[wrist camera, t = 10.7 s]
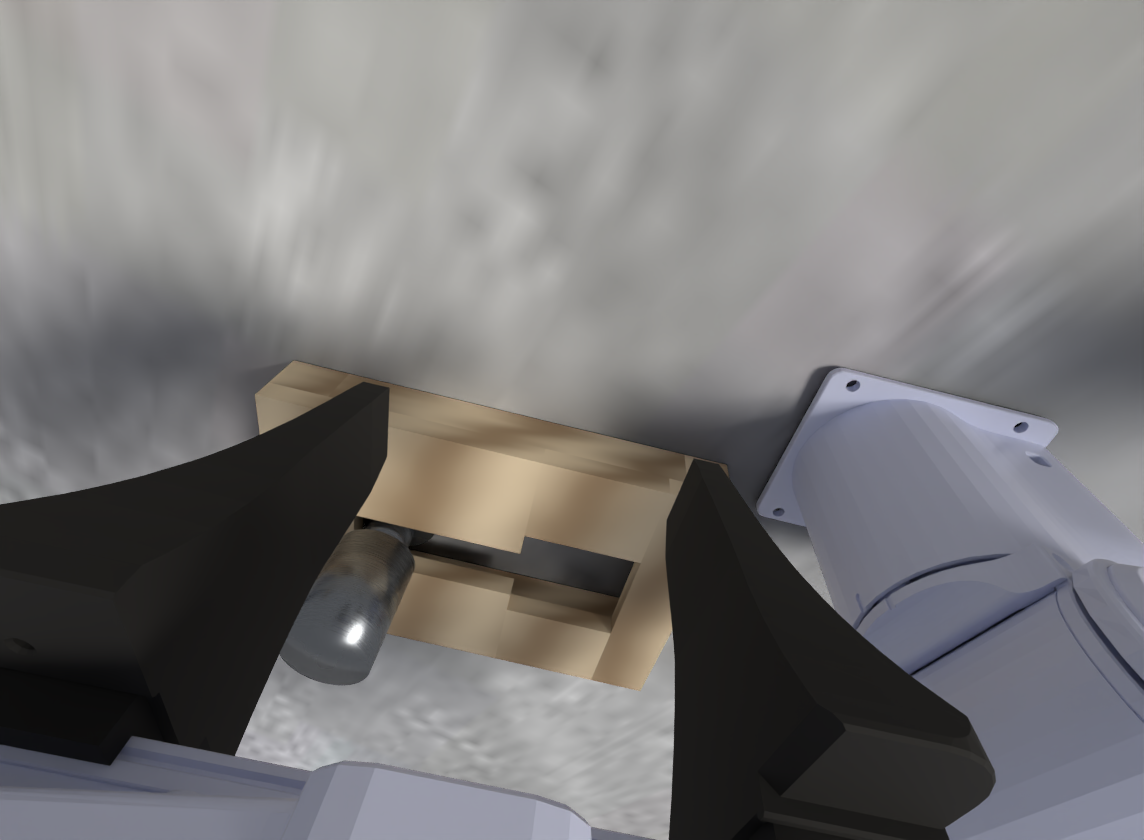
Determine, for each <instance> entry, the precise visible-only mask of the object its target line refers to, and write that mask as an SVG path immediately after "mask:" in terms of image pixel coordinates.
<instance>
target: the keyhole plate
mask: <svg viewBox="0 0 1144 840" xmlns="http://www.w3.org/2000/svg"><path fill="white" fill-rule="evenodd" d="M362 382H367V383H372V384H376V385H380V386H385V387H389V388H390V393H389V421H388V450H387V458H386V461H385V463H384V465H383V467H382V470H381V472H380V474H379V476H378V479H377V481H376V483H375V485H374V487H373V489H372V491H371V493H370V495H369V496H368V498H367V500H366V501H365V503H364V504H363V506H362V508H361V509H360V511H359V512H358V514H357V515H356V517H355V519H354V520H353V522H352V523H351V525H350V526H349V528H348V530H347V531H346V533H345V534H347V533H348V532H351V531H354V530H358V529H363V517H364V518H368V519H373V520H377V521H381V522H386V523H390V524H394V525H398V526H403V527H407V528H411V529H416V530H420V531H424V532H428V533H433V534H437V535H441V536H446V537H450V538H454V539H458V540H463V541H467V542H471V543H476V544H480V545H484V546H488V547H493V548H497V549H501V550H506V551H510V552H514V553H518V554H520V553H521V549H522V545H523V540H524V536H527V537H531V538H535V539H539V540H544V541H548V542H552V543H556V544H561V545H565V546H569V547H574V548H578V549H582V550H586V551H591V552H595V553H599V554H603V555H608V556H612V557H616V558H620V559H625V560H629V561H633V562H634V564H633V567H632V569H631V572H630V574H629V576H628V579H627V581H626V584H625V586H624V588H623V591H622V593H621V596H620V598H617V597H613V596H609V595H605V594H600V593H596V592H592V591H587V590H583V589H579V588H574V587H570V586H566V585H561V584H557V583H553V582H548V581H544V580H540V579H536V578H531V577H527V576H523V575H518V574H514V573H510V572H505V571H501V570H497V569H492V568H488V567H484V566H479V565H475V564H471V563H467V562H462V561H458V560H454V559H449V558H445V557H441V556H436V555H432V554H428V553H423V552H419V551H415V550H410V549H409V550H410V552H411V553H412V555H413V557H414V560H415V569H414V572H413V574H412V577H411V579H410V581H409V584H408V586H407V588H406V590H405V593H404V595H403V597H402V599H401V602H400V604H399V606H398V609H397V611H396V613H395V615H394V618H393V620H392V622H391V624H390V627H389V629H388V631H387V633H386V634H391V635H395V636H400V637H404V638H409V639H413V640H417V641H422V642H426V643H431V644H435V645H439V646H444V647H448V648H453V649H457V650H462V651H466V652H470V653H475V654H479V655H484V656H488V657H492V658H497V659H501V660H506V661H510V662H515V663H519V664H523V665H528V666H532V667H537V668H541V669H545V670H550V671H554V672H559V673H563V674H567V675H572V676H576V677H581V678H585V679H590V680H594V681H598V682H603V683H607V684H612V685H616V686H620V687H625V688H629V689H634V690H638V691H640V690H641V689H642V687H643V685H644V683H645V681H646V679H647V677H648V675H649V673H650V672H651V670H652V668H653V666H654V664H655V662H656V660H657V658H658V656H659V654H660V653H661V651H662V649H663V647H664V645H665V643H666V641H667V639H668V637H669V636H670V634H671V632H672V621H671V611H670V602H669V592H668V582H667V571H666V560H665V548H666V523H667V518H668V516H669V513H670V511H671V509H672V507H673V504H674V502H675V500H676V497H677V495H678V493H679V491H680V488H681V486H682V484H683V481H684V479H685V477H686V475H687V472H688V470H689V468H690V466H691V463H692V461H693V459H694V458H695V459H700V458H696V457H692V456H688V455H684V454H680V453H675V452H671V451H667V450H663V449H659V448H655V447H651V446H646V445H642V444H638V443H634V442H630V441H626V440H622V439H617V438H613V437H609V436H605V435H601V434H597V433H593V432H588V431H584V430H580V429H576V428H572V427H568V426H564V425H559V424H555V423H551V422H547V421H543V420H539V419H535V418H530V417H526V416H522V415H518V414H514V413H510V412H506V411H502V410H497V409H493V408H489V407H485V406H481V405H477V404H473V403H468V402H464V401H460V400H456V399H452V398H448V397H444V396H439V395H435V394H431V393H427V392H423V391H419V390H415V389H410V388H406V387H402V386H398V385H394V384H390V383H386V382H381V381H377V380H373V379H369V378H365V377H361V376H357V375H352V374H348V373H344V372H340V371H336V370H332V369H328V368H323V367H319V366H315V365H311V364H307V363H303V362H299V361H292V362H291V363H290V364H289V365H288V366H287V367H286V368H285V369H283V370H282V371H281V372H280V373H279V374H278V375H277V376H275V377H274V378H273V379H272V380H271V381H270V382H269V383H267V384H266V385H265V386H264V387H263V388H262V389H261V390H259V391H258V392H257V393H256V394H255V401H256V409H257V416H258V424H259V432H260V434H263V433H265V432H267V431H269V430H271V429H273V428H275V427H277V426H280V425H282V424H284V423H286V422H288V421H290V420H292V419H294V418H296V417H298V416H300V415H302V414H304V413H306V412H308V411H309V410H311V409H313V408H315V407H317V406H319V405H321V404H323V403H325V402H326V401H328V400H330V399H332V398H334V397H335V396H337V395H339V394H341V393H343V392H344V391H346V390H348V389H350V388H352V387H354V386H356V385H358V384H360V383H362ZM700 460H704V459H700ZM704 461H708V462H713V461H709V460H704ZM713 463H717V462H713ZM717 464H719V465H720V466H721V468H722V469H723V470H724V472H725V473H726V475H727V476H728V478H729V474H728V469H727V465H725V464H721V463H717ZM729 479H730V478H729ZM345 534H344V535H345Z"/></svg>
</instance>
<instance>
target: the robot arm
mask: <svg viewBox="0 0 1144 840" xmlns="http://www.w3.org/2000/svg"><path fill="white" fill-rule="evenodd" d="M852 380H857V383H856V384H855V385H853V386H851V387H846V385H847V383H848V382H850V381H852ZM389 393H390V388H389V387H385V386H380V385H376V384H372V383H367V382H362V383H360V384H358V385H356V386H354V387H352V388H350V389H348V390H346V391H344V392H343V393H341V394H339V395H337V396H335V397H334V398H332V399H330V400H328V401H326V402H325V403H323V404H321V405H319V406H317V407H315V408H313V409H311V410H309V411H308V412H306V413H304V414H302V415H300V416H298V417H296V418H294V419H292V420H290V421H288V422H286V423H284V424H282V425H280V426H277V427H275V428H273V429H271V430H269V431H267V432H265V433H263V434H260V435H258V436H256V437H254V438H252V439H249V440H247V441H245V442H242V443H240V444H237V445H235V446H232V447H230V448H227V449H225V450H222V451H219V452H217V453H214V454H211V455H208V456H206V457H203V458H200V459H197V460H194V461H191V462H187V463H184V464H181V465H178V466H174V467H171V468H168V469H164V470H161V471H158V472H154V473H151V474H148V475H144V476H140V477H137V478H132V479H128V480H124V481H120V482H116V483H112V484H108V485H103V486H99V487H94V488H90V489H85V490H80V491H75V492H70V493H65V494H60V495H54V496H48V497H42V498H36V499H31V500H25V501H19V502H13V503H7V504H1V505H0V840H655V839H650V838H645V837H640V836H635V835H630V834H624V833H619V832H614V831H609V830H604V829H599V828H594V827H590V825H589V824H588V823H587V822H586V820H585V819H584V818H582V817H581V816H580V815H579V814H577V813H576V812H575V811H574V810H572V809H571V808H570V807H569V806H567V805H565V804H562V803H559V802H556V801H553V800H550V799H547V798H544V797H541V796H538V795H534V794H529V793H524V792H519V791H514V790H509V789H504V788H499V787H494V786H489V785H484V784H479V783H474V782H469V781H464V780H459V779H454V778H449V777H444V776H440V775H435V774H430V773H425V772H420V771H415V770H410V769H405V768H400V767H395V766H390V765H385V764H380V763H369V762H356V761H342V762H338V763H334V764H330V765H327V766H323V767H320V768H318V769H316V770H314V771H307V770H302V769H297V768H292V767H287V766H282V765H277V764H272V763H267V762H262V761H257V760H252V759H247V758H242V757H237V756H235V754H236V751H237V749H238V747H239V744H240V742H241V740H242V737H243V735H244V732H245V730H246V728H247V725H248V723H249V721H250V718H251V716H252V713H253V711H254V709H255V707H256V704H257V702H258V700H259V698H260V695H261V693H262V691H263V689H264V687H265V684H266V682H267V680H268V678H269V675H270V673H271V671H272V669H273V666H274V664H275V662H276V660H277V658H278V656H279V654H280V652H281V649H282V647H283V645H284V643H285V641H286V639H287V637H288V635H289V633H290V630H291V628H292V626H293V624H294V622H295V620H296V618H297V616H298V614H299V612H300V610H301V608H302V606H303V604H304V602H305V600H306V598H307V596H308V594H309V592H310V590H311V588H312V586H313V584H314V582H315V581H316V579H317V577H318V576H319V574H320V572H321V570H322V569H323V567H324V565H325V564H326V562H327V561H328V559H329V558H330V556H331V554H332V553H333V551H334V550H335V548H336V547H337V545H338V544H339V542H340V540H341V539H342V537H343V536H344V534H345V533H346V531H347V530H348V528H349V526H350V525H351V523H352V522H353V520H354V519H355V517H356V515H357V514H358V512H359V511H360V509H361V508H362V506H363V504H364V503H365V501H366V500H367V498H368V496H369V495H370V493H371V491H372V489H373V487H374V485H375V483H376V481H377V479H378V476H379V474H380V472H381V470H382V467H383V465H384V463H385V461H386V458H387V450H388V421H389ZM1021 422H1022V424H1021V425H1019V426H1018V427H1015V428H1014V426H1015V425H1017V424H1018V423H1021ZM1057 433H1058V426H1057V425H1056V424H1055V423H1054V422H1053V421H1052V420H1050V419H1047V418H1043V417H1039V416H1035V415H1031V414H1027V413H1023V412H1019V411H1015V410H1011V409H1007V408H1003V407H999V406H995V405H991V404H987V403H983V402H979V401H975V400H971V399H967V398H963V397H959V396H955V395H951V394H947V393H943V392H939V391H935V390H931V389H927V388H923V387H919V386H915V385H911V384H907V383H903V382H899V381H895V380H891V379H887V378H883V377H879V376H875V375H871V374H867V373H863V372H859V371H855V370H851V369H847V368H836V369H833V370H832V371H830V372H829V373H828V374H827V376H826V377H825V379H824V381H823V383H822V385H821V387H820V388H819V390H818V392H817V394H816V396H815V397H814V399H813V401H812V403H811V405H810V407H809V408H808V410H807V412H806V414H805V416H804V417H803V419H802V421H801V423H800V425H799V426H798V428H797V430H796V432H795V434H794V436H793V437H792V439H791V441H790V443H789V445H788V446H787V448H786V450H785V452H784V454H783V455H782V457H781V459H780V461H779V463H778V465H777V466H776V468H775V470H774V472H773V474H772V475H771V477H770V479H769V481H768V483H767V485H766V486H765V488H764V490H763V492H762V494H761V495H760V497H759V499H758V501H757V503H756V508H757V512H758V514H759V515H761V516H763V517H767V518H771V519H775V520H779V521H784V522H788V523H792V524H796V525H800V526H804V527H806V528H807V531H808V533H809V536H810V539H811V542H812V545H813V548H814V551H815V554H816V556H817V559H818V562H819V565H820V568H821V571H822V574H823V576H824V579H825V582H826V585H827V588H828V591H829V594H830V597H831V599H832V602H833V605H834V608H835V610H834V609H833V608H832V607H831V606H830V605H829V604H828V603H827V602H826V601H825V600H824V599H823V598H822V597H821V596H820V595H819V594H818V593H817V592H816V591H815V590H814V589H813V587H812V586H811V585H810V584H809V583H808V582H807V581H806V580H805V579H804V578H803V577H802V576H801V574H800V573H799V572H798V571H797V570H796V569H795V568H794V566H793V565H792V564H791V563H790V562H789V560H788V559H787V558H786V557H785V555H784V554H783V553H782V552H781V550H780V549H779V548H778V547H777V546H776V544H775V543H774V542H773V540H772V539H771V538H770V536H769V535H768V534H767V532H766V531H765V530H764V528H763V527H762V526H761V524H760V523H759V521H758V520H757V519H756V517H755V516H754V514H753V513H752V512H751V510H750V509H749V507H748V506H747V504H746V503H745V501H744V500H743V498H742V497H741V496H740V494H739V493H738V491H737V490H736V488H735V487H734V485H733V484H732V482H731V481H730V479H729V478H728V476H727V475H726V473H725V472H724V470H723V469H722V468H721V466H720V465H719V464H717V463H713V462H708V461H704V460H700V459H695V458H694V459H693V461H692V463H691V466H690V468H689V470H688V472H687V475H686V477H685V479H684V481H683V484H682V486H681V488H680V491H679V493H678V495H677V497H676V500H675V502H674V504H673V507H672V509H671V511H670V513H669V516H668V518H667V523H666V548H665V560H666V571H667V582H668V592H669V602H670V611H671V621H672V630H673V640H674V654H675V720H674V756H673V778H672V800H671V815H670V830H669V840H1144V543H1143V542H1142V541H1141V540H1140V539H1139V538H1138V537H1137V536H1136V535H1135V534H1134V533H1133V532H1132V531H1131V530H1130V529H1129V528H1128V527H1127V526H1125V525H1124V524H1123V523H1122V522H1121V521H1120V520H1119V519H1118V518H1117V517H1116V516H1115V515H1114V514H1113V513H1112V512H1111V511H1110V510H1109V509H1108V508H1107V507H1106V506H1105V505H1104V504H1103V503H1102V502H1101V501H1100V500H1099V499H1098V498H1097V497H1096V496H1095V495H1094V494H1093V493H1092V492H1091V491H1090V490H1088V489H1087V488H1086V487H1085V486H1084V485H1083V484H1082V483H1081V482H1080V481H1079V480H1078V479H1077V478H1076V477H1075V476H1074V475H1073V474H1072V473H1071V472H1070V471H1069V470H1068V469H1067V468H1066V467H1065V466H1064V465H1063V464H1062V463H1061V462H1060V461H1059V460H1058V459H1057V458H1056V457H1055V456H1054V455H1052V454H1051V453H1050V452H1049V451H1048V450H1047V449H1046V448H1045V447H1046V446H1047V445H1048V444H1049V443H1050V442H1051V441H1052V439H1053V438H1054V437H1055V436H1056V434H1057ZM777 508H782V509H781V510H778V511H774V510H775V509H777Z"/></svg>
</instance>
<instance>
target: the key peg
mask: <svg viewBox="0 0 1144 840" xmlns="http://www.w3.org/2000/svg"><path fill="white" fill-rule="evenodd" d="M363 523H364V524H365V525H366V528H365V529H358V530H354V531H351V532H348V533H347V534H345V535H344V536H343V537H342V539H341V540H340V542H339V544H338V545H337V547H336V548H335V550H334V551H333V553H332V554H331V556H330V558H329V559H328V561H327V562H326V564H325V565H324V567H323V569H322V570H321V572H320V574H319V576H318V577H317V579H316V581H315V582H314V584H313V586H312V588H311V590H310V592H309V594H308V596H307V598H306V600H305V602H304V604H303V606H302V608H301V610H300V612H299V614H298V616H297V618H296V620H295V622H294V624H293V626H292V628H291V630H290V633H289V635H288V637H287V639H286V641H285V643H284V645H283V647H282V649H281V652H280V656H281V657H282V659H283V660H284V661H285V662H286V663H287V664H288V665H289V666H290V667H291V668H293V669H294V670H295V671H297V672H298V673H300V674H302V675H304V676H306V677H308V678H310V679H313V680H316V681H319V682H322V683H327V684H332V685H351V684H355V683H358V682H360V681H362V680H364V679H365V678H366V677H367V676H368V674H369V672H370V670H371V668H372V665H373V663H374V661H375V658H376V656H377V654H378V652H379V649H380V647H381V645H382V643H383V640H384V638H385V636H386V633H387V631H388V629H389V627H390V624H391V622H392V620H393V618H394V615H395V613H396V611H397V609H398V606H399V604H400V602H401V599H402V597H403V595H404V593H405V590H406V588H407V586H408V584H409V581H410V579H411V577H412V574H413V572H414V569H415V560H414V557H413V555H412V553H411V552H410V550H409V549H408V547H409V546H412V545H419V544H422V543H424V542H426V541H428V540H429V539H431V538H432V537H433V535H434V534H433V533H428V532H424V531H420V530H416V529H411V528H407V527H403V526H398V525H394V524H390V523H386V522H381V521H377V520H373V519H368V518H364V517H363Z"/></svg>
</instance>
